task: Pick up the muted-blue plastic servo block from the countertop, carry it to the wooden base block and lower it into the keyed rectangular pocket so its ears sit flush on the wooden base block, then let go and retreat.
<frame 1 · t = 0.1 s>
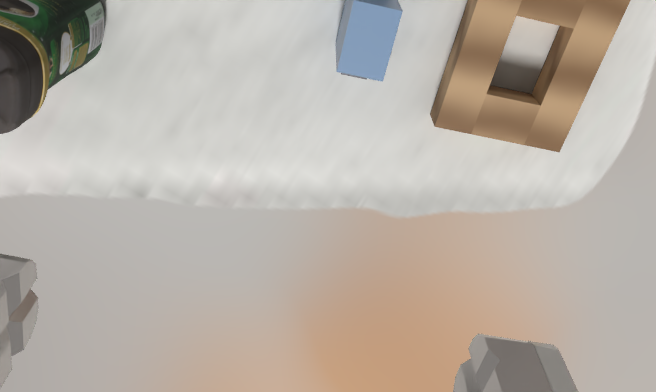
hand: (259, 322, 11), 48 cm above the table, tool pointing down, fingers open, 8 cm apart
wooden base block: (519, 52, 57), on the table
servo block: (363, 17, 55), on the table
coffee jar: (56, 15, 55), on the table
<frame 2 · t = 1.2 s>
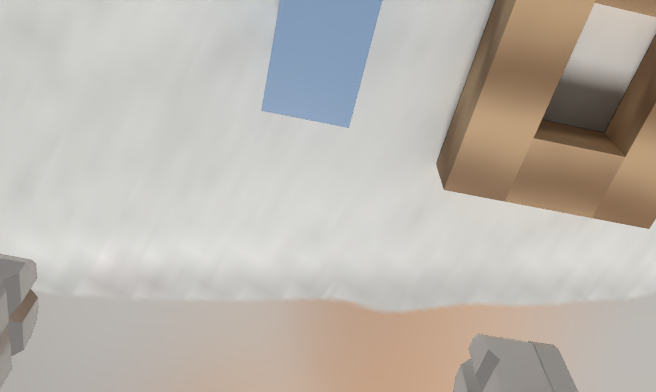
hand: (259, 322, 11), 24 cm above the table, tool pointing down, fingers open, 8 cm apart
wooden base block: (590, 65, 34), on the table
servo block: (321, 5, 32), on the table
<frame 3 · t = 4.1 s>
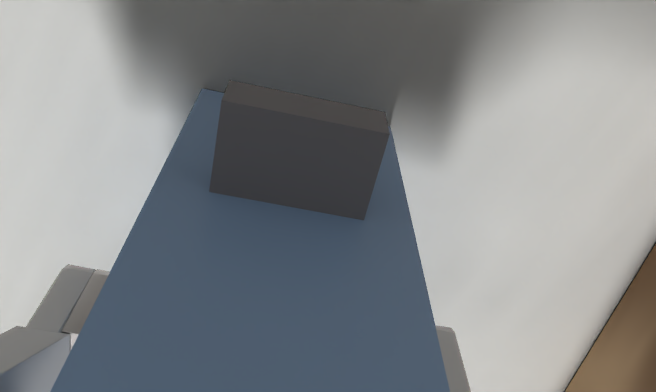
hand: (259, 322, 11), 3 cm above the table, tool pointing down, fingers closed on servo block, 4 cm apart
servo block: (273, 224, 14), on the table, touching gripper
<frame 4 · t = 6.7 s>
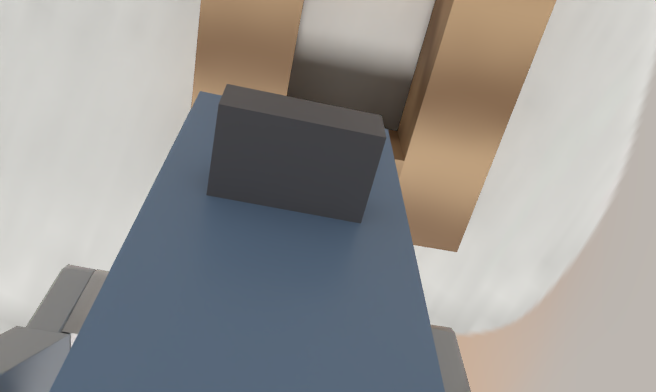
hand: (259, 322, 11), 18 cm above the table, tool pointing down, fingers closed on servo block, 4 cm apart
wooden base block: (359, 43, 26), on the table
servo block: (271, 226, 14), point 14 cm above the table, touching gripper
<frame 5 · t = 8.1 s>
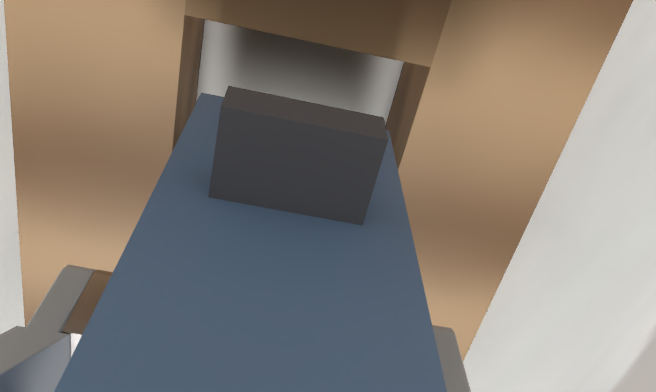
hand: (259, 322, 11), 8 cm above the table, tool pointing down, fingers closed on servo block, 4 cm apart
wooden base block: (287, 134, 17), on the table
servo block: (272, 228, 14), point 4 cm above the table, touching gripper
when the fingers open (5 cm above the table, at t = 9.5 s): servo block drops 1 cm, resting in wooden base block.
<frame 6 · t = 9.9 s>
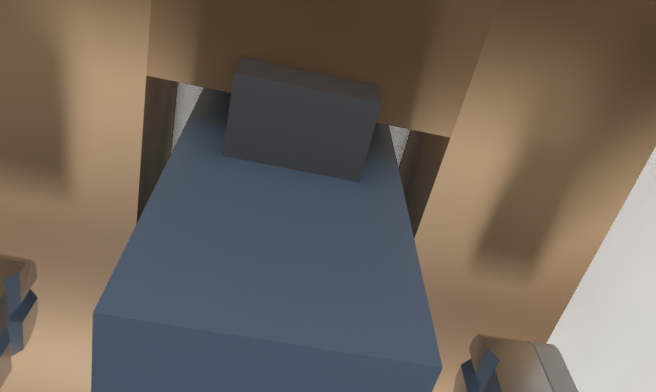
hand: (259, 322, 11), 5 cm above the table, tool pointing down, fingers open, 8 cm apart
wooden base block: (278, 197, 15), on the table
servo block: (277, 198, 15), resting in wooden base block
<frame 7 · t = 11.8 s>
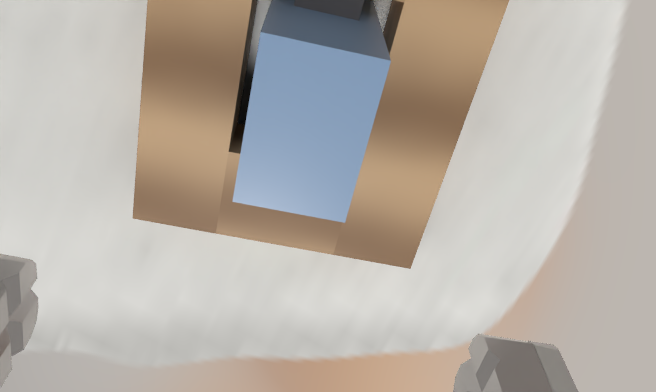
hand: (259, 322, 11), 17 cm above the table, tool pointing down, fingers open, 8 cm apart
wooden base block: (312, 58, 26), on the table
servo block: (311, 59, 26), resting in wooden base block
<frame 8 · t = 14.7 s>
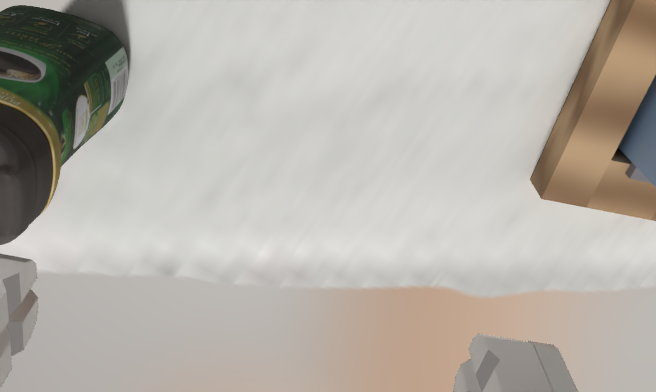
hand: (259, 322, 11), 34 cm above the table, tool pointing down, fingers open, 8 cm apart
wooden base block: (650, 106, 45), on the table
servo block: (649, 106, 45), resting in wooden base block
coffee jar: (67, 62, 44), on the table
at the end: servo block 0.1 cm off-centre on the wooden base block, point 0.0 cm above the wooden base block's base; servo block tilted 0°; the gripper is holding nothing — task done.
